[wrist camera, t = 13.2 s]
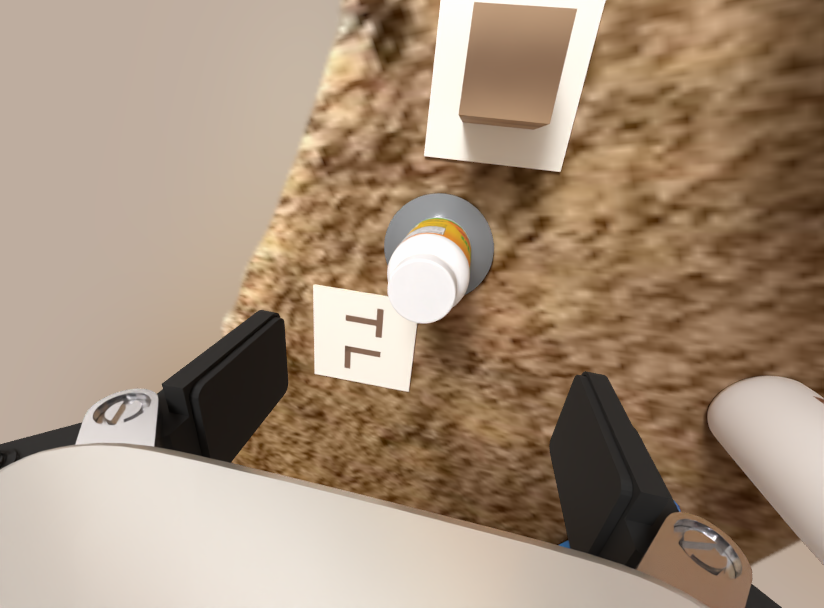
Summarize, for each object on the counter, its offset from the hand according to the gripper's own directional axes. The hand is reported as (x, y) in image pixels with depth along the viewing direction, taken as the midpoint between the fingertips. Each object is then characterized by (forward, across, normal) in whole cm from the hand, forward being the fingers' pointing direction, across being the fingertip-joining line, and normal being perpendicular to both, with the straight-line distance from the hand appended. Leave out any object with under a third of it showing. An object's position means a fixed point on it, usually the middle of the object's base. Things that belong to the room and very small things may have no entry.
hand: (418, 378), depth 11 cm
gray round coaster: (+19, +1, +2) cm, 20 cm away
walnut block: (+19, -2, -10) cm, 22 cm away
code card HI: (+20, -2, -10) cm, 22 cm away
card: (+19, +7, +12) cm, 23 cm away
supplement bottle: (+19, +1, +1) cm, 19 cm away
